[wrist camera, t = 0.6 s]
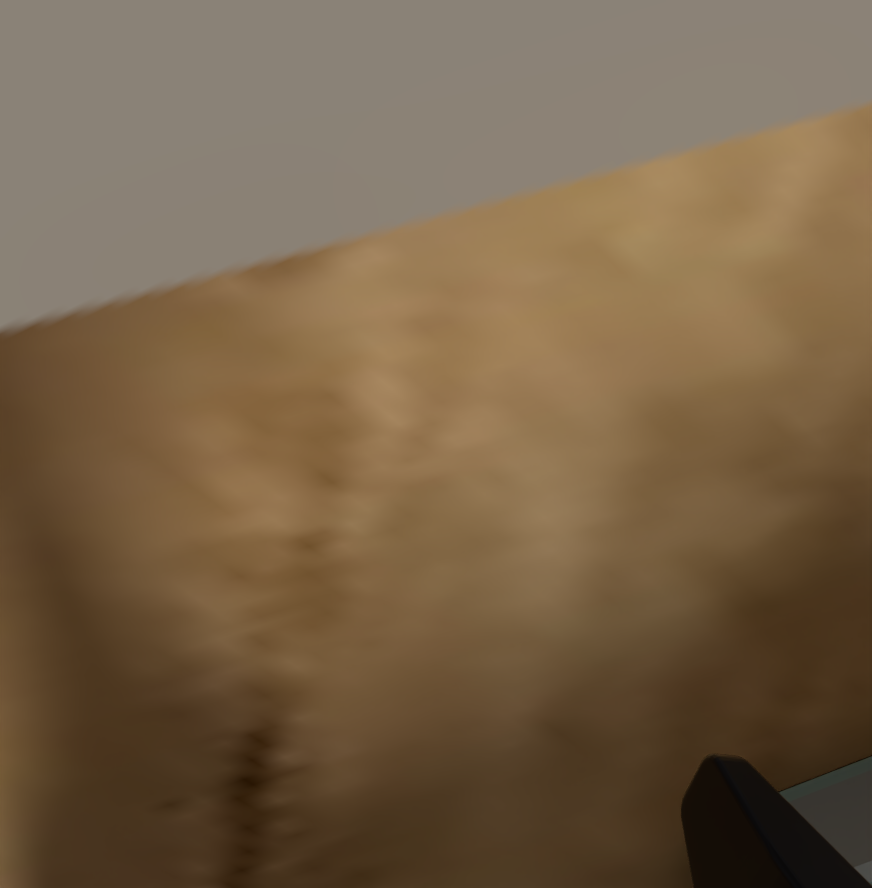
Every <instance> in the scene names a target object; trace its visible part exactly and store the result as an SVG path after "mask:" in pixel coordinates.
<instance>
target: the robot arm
mask: <svg viewBox="0 0 872 888" xmlns="http://www.w3.org/2000/svg"><path fill="white" fill-rule="evenodd" d="M681 818H682V825H683V830H684V836H685V842H686V848H687V853H688V859H689V865H690V870H691V876H692V882H693V887H694V888H872V885H871V884H870V883H869V882H868V881H867V880H866V879H865V878H864V877H863V876H862V875H861V874H860V873H859V872H858V871H857V870H856V869H855V868H854V867H853V866H852V865H851V864H850V863H849V862H848V861H847V860H846V859H845V858H844V857H843V856H842V855H841V854H840V853H839V852H838V851H837V850H836V849H835V848H834V847H833V846H832V845H831V844H830V843H829V842H828V841H827V840H826V839H825V838H824V837H823V836H822V835H821V834H820V833H819V832H818V831H817V830H816V829H815V828H814V827H813V826H812V825H811V824H810V823H809V822H808V821H807V820H806V819H805V818H804V817H803V816H802V815H801V814H800V813H799V812H798V811H797V810H796V809H795V808H794V807H793V806H792V805H791V804H790V803H789V802H788V801H787V800H786V799H785V798H784V797H783V796H782V795H781V794H780V793H779V792H778V791H777V790H776V789H775V788H774V787H773V786H772V785H771V784H770V783H769V782H768V781H767V780H766V779H765V778H764V777H763V776H762V775H761V774H760V773H759V772H758V771H757V770H756V769H755V768H754V767H753V766H752V765H751V764H750V763H749V762H748V761H746V760H745V759H743V758H742V757H739V756H734V755H723V754H709V755H708V756H706V757H705V758H704V759H703V760H702V762H701V764H700V766H699V768H698V770H697V772H696V773H695V775H694V777H693V779H692V781H691V783H690V785H689V787H688V789H687V791H686V793H685V795H684V797H683V800H682V805H681Z"/></svg>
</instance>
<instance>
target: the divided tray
mask: <svg viewBox="0 0 872 888" xmlns="http://www.w3.org/2000/svg"><path fill="white" fill-rule="evenodd" d="M779 793H780V794H781V795H782V796H783V797H784V798H785V799H786V800H787V801H788V802H789V803H790V804H791V805H792V806H793V807H794V808H795V809H796V810H797V811H798V812H799V813H800V814H801V815H802V816H803V817H804V818H805V819H806V820H807V821H808V822H809V823H810V824H811V825H812V826H813V827H814V828H815V829H816V830H817V831H818V832H819V833H820V834H821V835H822V836H823V837H824V838H825V839H826V840H827V841H828V842H829V843H830V844H831V845H832V846H833V847H834V848H835V849H836V850H837V851H838V852H839V853H840V854H841V855H842V856H843V857H844V858H845V859H846V860H847V861H848V862H849V863H850V864H851V865H852V866H853V867H854V868H855V869H856V870H857V871H858V872H859V873H860V874H861V875H862V876H863V877H864V878H865V879H866V880H867V881H868V882H869V883H870V884H871V885H872V756H871V757H869V758H866V759H863V760H861V761H858V762H856V763H853V764H851V765H848V766H845V767H843V768H840V769H838V770H835V771H832V772H830V773H827V774H825V775H822V776H820V777H817V778H814V779H812V780H809V781H807V782H804V783H802V784H799V785H796V786H794V787H791V788H789V789H786V790H783V791H781V792H779Z"/></svg>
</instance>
